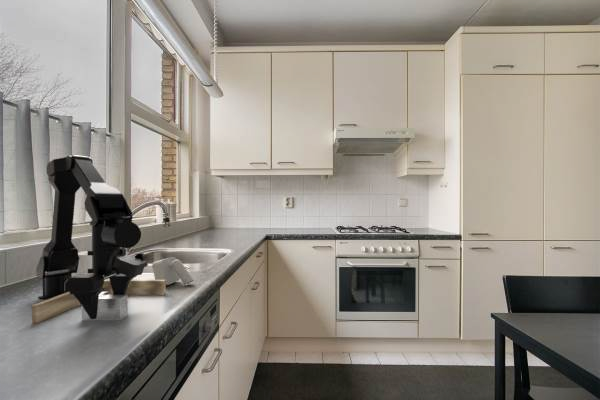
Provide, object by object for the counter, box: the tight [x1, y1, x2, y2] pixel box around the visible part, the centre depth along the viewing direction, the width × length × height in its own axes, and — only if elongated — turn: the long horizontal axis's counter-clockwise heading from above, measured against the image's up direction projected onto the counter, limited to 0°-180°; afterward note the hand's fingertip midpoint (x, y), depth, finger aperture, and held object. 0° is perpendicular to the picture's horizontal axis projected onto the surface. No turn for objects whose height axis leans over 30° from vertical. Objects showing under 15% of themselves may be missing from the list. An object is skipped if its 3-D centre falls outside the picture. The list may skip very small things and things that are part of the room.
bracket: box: [81, 292, 129, 322], centre depth 74 cm, size 9×6×5 cm, turn 88°
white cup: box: [72, 250, 93, 277], centre depth 107 cm, size 8×8×10 cm
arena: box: [31, 279, 167, 324], centre depth 81 cm, size 20×23×4 cm
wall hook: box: [151, 256, 194, 286], centre depth 102 cm, size 8×10×10 cm
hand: (107, 311), depth 73 cm, fingers open, 9 cm apart
